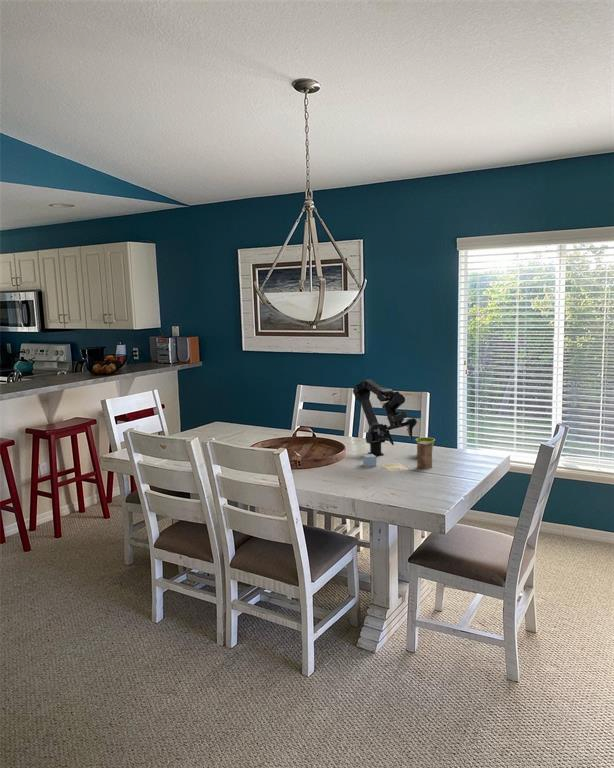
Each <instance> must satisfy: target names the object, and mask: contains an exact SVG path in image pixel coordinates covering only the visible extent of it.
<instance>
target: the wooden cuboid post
mask: <svg viewBox="0 0 614 768" xmlns="http://www.w3.org/2000/svg"><path fill="white" fill-rule="evenodd" d="M416 450H417V451H416V456H417V457H416V460H417V461H416V467H417V468H418V469H422V470H428V469H432V468H433V450H432V443H431V442H426V441H422V442H418V443H417V442H416Z"/></svg>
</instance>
